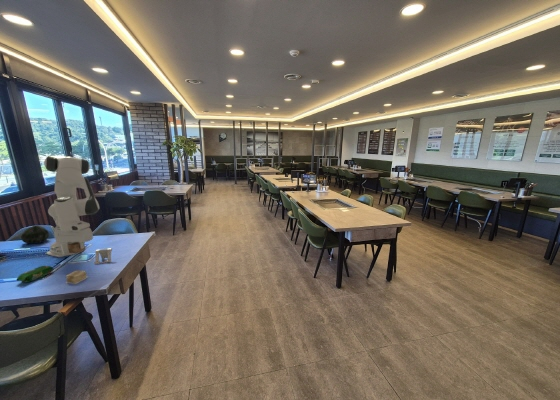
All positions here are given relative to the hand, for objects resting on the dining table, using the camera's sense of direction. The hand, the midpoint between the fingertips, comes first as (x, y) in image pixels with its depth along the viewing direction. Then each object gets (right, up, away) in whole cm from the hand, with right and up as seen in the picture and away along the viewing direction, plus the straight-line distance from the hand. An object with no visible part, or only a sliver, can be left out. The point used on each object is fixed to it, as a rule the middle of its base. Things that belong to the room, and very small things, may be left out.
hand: (76, 248), depth 129 cm
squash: (-81, -7, +53) cm, 97 cm away
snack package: (-27, -18, +3) cm, 33 cm away
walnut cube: (0, -2, 0) cm, 2 cm away
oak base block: (-1, -18, +1) cm, 18 cm away
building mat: (-3, -19, +2) cm, 19 cm away
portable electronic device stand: (-3, -15, +24) cm, 28 cm away
